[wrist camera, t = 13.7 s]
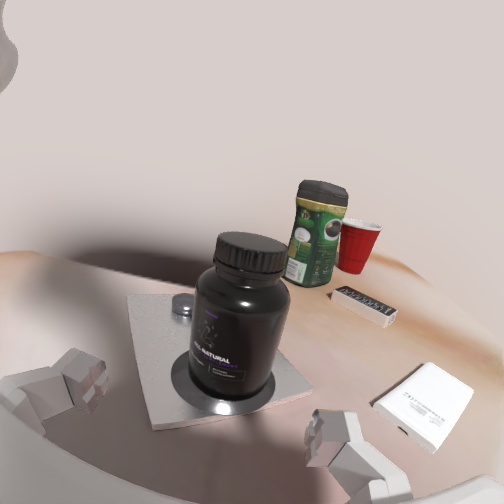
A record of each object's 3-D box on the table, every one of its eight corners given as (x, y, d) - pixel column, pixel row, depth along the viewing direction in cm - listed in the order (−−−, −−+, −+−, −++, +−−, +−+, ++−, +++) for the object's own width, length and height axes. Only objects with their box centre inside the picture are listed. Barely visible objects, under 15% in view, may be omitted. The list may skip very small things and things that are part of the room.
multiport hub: (342, 296, 47) (346, 284, 46) (393, 322, 39) (398, 310, 38) (328, 301, 44) (332, 288, 43) (383, 330, 36) (389, 317, 35)
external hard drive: (468, 400, 20) (428, 458, 14) (422, 370, 27) (369, 411, 20) (475, 390, 20) (439, 447, 13) (427, 360, 26) (376, 399, 20)
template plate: (154, 435, 15) (152, 420, 14) (126, 300, 32) (126, 286, 31) (315, 397, 21) (322, 382, 21) (226, 297, 38) (228, 284, 38)
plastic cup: (320, 260, 66) (330, 213, 63) (354, 264, 69) (365, 220, 66) (341, 277, 56) (355, 222, 53) (377, 279, 59) (391, 230, 56)
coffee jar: (306, 270, 57) (325, 182, 52) (335, 284, 51) (358, 190, 46) (272, 274, 51) (292, 174, 46) (302, 291, 45) (327, 181, 40)
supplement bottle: (183, 400, 18) (194, 246, 14) (191, 348, 24) (204, 222, 21) (273, 407, 19) (316, 263, 15) (262, 355, 25) (289, 235, 22)
